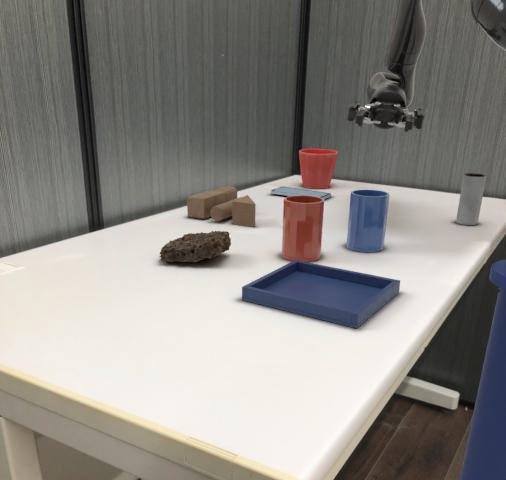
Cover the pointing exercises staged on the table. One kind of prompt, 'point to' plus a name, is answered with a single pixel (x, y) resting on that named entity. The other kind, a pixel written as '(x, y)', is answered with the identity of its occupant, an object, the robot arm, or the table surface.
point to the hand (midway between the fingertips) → (383, 123)
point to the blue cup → (367, 220)
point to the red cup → (302, 228)
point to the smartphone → (299, 192)
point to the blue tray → (322, 292)
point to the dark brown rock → (196, 247)
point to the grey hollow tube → (470, 198)
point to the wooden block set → (222, 206)
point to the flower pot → (317, 167)
